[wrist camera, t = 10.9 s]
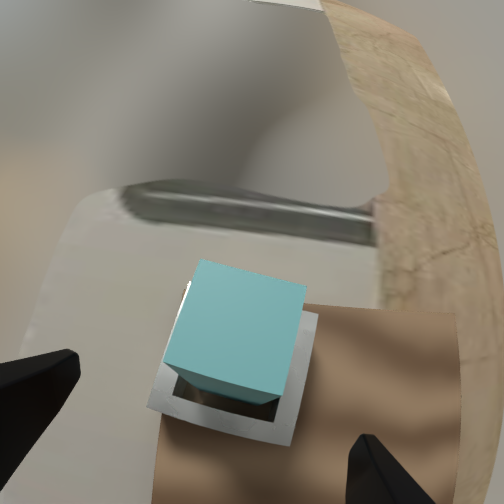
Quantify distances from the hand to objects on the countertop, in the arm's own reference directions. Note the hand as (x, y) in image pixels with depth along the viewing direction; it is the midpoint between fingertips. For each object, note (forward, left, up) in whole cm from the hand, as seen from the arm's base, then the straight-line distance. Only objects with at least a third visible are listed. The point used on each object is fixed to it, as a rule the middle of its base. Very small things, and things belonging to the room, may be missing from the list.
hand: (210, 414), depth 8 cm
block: (+3, 0, -12) cm, 12 cm away
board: (-1, -7, -13) cm, 15 cm away
